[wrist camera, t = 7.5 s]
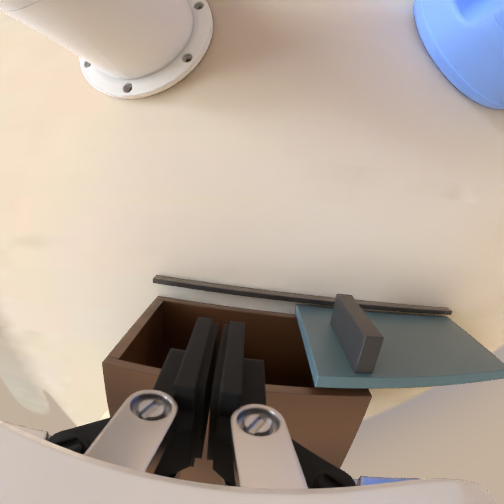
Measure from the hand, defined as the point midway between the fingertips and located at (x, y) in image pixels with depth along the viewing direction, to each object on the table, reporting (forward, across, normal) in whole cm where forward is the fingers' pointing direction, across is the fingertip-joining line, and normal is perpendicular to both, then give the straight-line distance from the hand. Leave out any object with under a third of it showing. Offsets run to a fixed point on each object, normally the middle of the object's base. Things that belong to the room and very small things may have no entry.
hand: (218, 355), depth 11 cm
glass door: (+15, -13, +3) cm, 20 cm away
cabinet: (+15, -7, +9) cm, 19 cm away
